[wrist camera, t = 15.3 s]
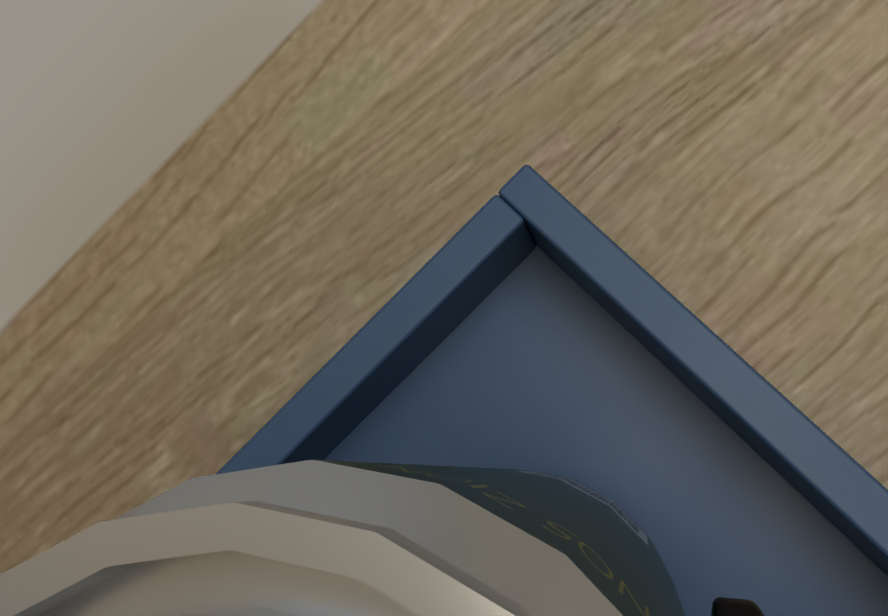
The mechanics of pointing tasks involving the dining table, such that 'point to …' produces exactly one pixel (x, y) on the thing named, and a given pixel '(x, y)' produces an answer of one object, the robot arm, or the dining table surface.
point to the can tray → (598, 410)
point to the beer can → (354, 549)
